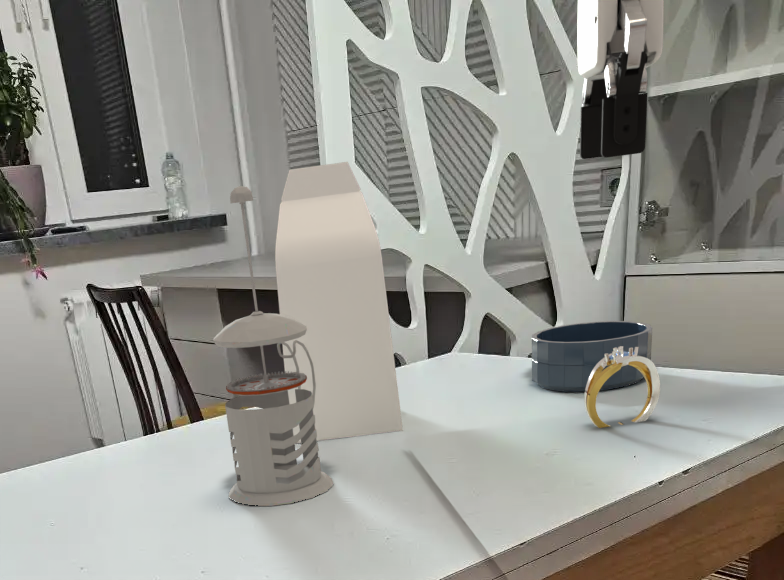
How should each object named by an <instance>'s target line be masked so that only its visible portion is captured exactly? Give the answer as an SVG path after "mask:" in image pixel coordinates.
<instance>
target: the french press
mask: <svg viewBox="0 0 784 580" xmlns="http://www.w3.org/2000/svg"><path fill="white" fill-rule="evenodd" d="M252 201H254V197H253V191H251V189H250V188H249V187H247V186H244V185H243V186H242V185H238V186H236V187H234V189H233V190H232V191H231V192H230V196H229V202H230V204H239V205H240V209H241V216H242V223H243V230H244V238H245V245H246V252H247V260H248V267H249V274H250V282H251V289H252V298H253V304H254V310H255V311H252V313H251V314H250V315H247V316H244V317H241V318H237V319H235V320H233V321H231V322H230V323H228V324H227V325H225V326H224V327H223V328H222V329H221V330H220V331H219V332H218V333H217V334H215V336H214V337H213V339H212V341H213V343H214V344H215V345H216V347H219V348H225V349H243V348H255V347H260V354H261V363H262V369H263V373H259V374H258V373H257V374H253V375H249V376H244V377H241V378H240V377H238V379H235V380H233V381H230V382H228V383H227V385H226V387H225V390H226V392H228V393H229V394H231V395H232V394H233V395H236V396H237V397H236V396H235V397H233V398H231V399H229V400H228V401H226V402H225V405H224V407H225V414H226V422H227V428H228V432H229V438H230V440H229V441H230V446H231V448H232V449H231V450H232V457H233V458H232V459H233V460H232V461H233V462H234V463H233V464H234V471H235V475H236V483H234V484H233V485H232V487H231V489H230V490H229V491H230V492H229V491H228V498H229V497H230V498H231V499H233V500H235V501H236V502H239V503H242V504H241V505H244V504H248V505H247V506H249V505H255V506H254V507H272V506H280V505H289V504H295V503H298V501H299V502H302V500H303V501H306V500H309V499H313V498H316V497H318V496H320V495H322V494H324V493H326V492H328V491H329V490H330V489H331V488H332V487H333V486H334V481H333V478H332V477H331V476H330V475H328V474H327V473H326V472H324V471H323V470H322V468H321V459H320V457H321V456H319V451H320V449H319V442H318V441H316V438H317V431H316V429H315V415H313V408H314V403H315V390H316V382H315V374H314V366H313V363H312V360H311V357H310V355H309V352H308V350H307V348H306V347H305V345H304V344H303V343H301V342H299V341H297V340H295V341H294V342H293V352H292V350H291V348H290V347H289V345H288V344H287V343H285V342H286V341H289V340H293V339H296V338H299V337H301V336H303V335H305V333H306V330H307V327H306V326H305V325H303V324H301V323H300V322H298V321H296V320H294V319H293V318H291V317H287V316H283V315H280V313H274V312H273V313H271V312H268V313H265V312H263V311H261V310H259V308H258V300H257V294H256V286H255V280H254V272H253V271H254V270H253V265H252V257H251V249H250V243H249V235H248V228H247V221H246V220H247V219H246V212H245V202H252ZM296 343H298V344H299V345H301V346H302V347H303V349H304V350H305V352H306V354H307V356H308V359H309V361H310V365H311V369H312V380H313V395H312V392H311V391H308V390H305V389H301V385H302V384H303V383H305V382H306V380H307V376H306V375H305V374H304V373H299V367H298V363H297V360H296V357H295V354H296V346H295V344H296ZM275 344H276V348H277V353H278V355H279V357H281V358H282V359H284V358H292V357H293V360H294V363H295V366H296V372H290V373H289V371H288V373H286V371H285V370H284V371H281V372H280V371H278V372H276V371H274V373H273V371H272V372H271V373H269V372H267V365H266V361H265V352H264V346H270V345H275ZM282 344H283V345H285V346H286V347H287V348H288V350H289V351H290V353H291V355H283V353H282V352H281V351H282V350H281V345H282ZM283 345H282V346H283ZM297 387H298V389H295V395H296V403H294V404H289V396H288V390H290V389H293V388H297ZM252 407H254V408H256V409H242V408H252ZM298 424H299V428H300V431H299V433H298V434H296V435H294V436H293V428H294V427H296V426H298ZM300 439H301V443H300V444H301V446H299V448H297V449H296V446H295V445H296V444H298V443H297V442H298V441H299V440H300ZM301 456H302V459H303V460H302V461H301V462H300V463H298V461H297V459H298V458H300V457H301ZM237 465H238V466H237ZM328 489H329V490H328ZM319 494H320V495H319ZM317 495H318V496H317ZM315 496H316V497H315ZM231 499H230V500H231ZM305 499H306V500H305ZM294 502H295V503H294ZM256 505H258V506H256Z"/></svg>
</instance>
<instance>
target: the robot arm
mask: <svg viewBox="0 0 784 580" xmlns="http://www.w3.org/2000/svg"><path fill="white" fill-rule="evenodd" d="M664 3H665V2H664V0H577V17H576V19H577V23H576V26H577V27H576V28H577V29H576V33H577V34H576V35H577V37H576V39H577V40H576V41H577V43H576V44H577V46H576V52H577V53H576V54H577V56H576V57H577V70H578V71H577V72H578V74H579V76H580V77H582V78H583V87H582V94H581V106H580V123H579V124H580V125H579V126H580V127H579V128H580V129H579V130H580V131H579V132H580V133H579V135H580V136H579V157H580V158H581V160H588V159H596V158H606V159H607V158H614V157H621V156H631V155H637V154H642V153H643V152H644V151H645V149H646V138H647V136H646V135H647V114H648V112H647V111H648V94H649V93H648V92H647V90H648V83H649V82H648V79H649V77H648V72H647V68H649V67H651V66H653V65H654V64H656V63H657V62H658V61H659V59H660V58H661V56H662V53H663V49H664V9H665V8H664V6H665V5H664Z"/></svg>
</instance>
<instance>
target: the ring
mask: <svg viewBox="0 0 784 580" xmlns="http://www.w3.org/2000/svg"><path fill="white" fill-rule="evenodd" d="M637 353H638V347H635V349H634V352H633V348H629V352H623V346H620V347H618V348H617V347H615V348H613V352H612V353H611V354H609V355H608V353H607V354H604V355H605V357H604V358H603V359H602V360H600V361H599V362H598V363H597V364H596V366H595V367H594V369H593V370H592V372H591V374H590V376H589V379H588V382H587V385H586V389H585V392H584V395H583V396H584V397H583V403H584V409H585V413H586V415H587V417H588V418H589V420H590V421H591V422H592V424H593V425H594V426H596V427H597V428H598V429H602V428H608V427H609V428H610V427H611V425H610V424H608V423H605V422H604V421H603V420H602V419H601V418H600V416H599V414H598V411H597V397H598V395H599V392H600V391H601V390H600V388H601V387H602V385H603V384H604V383H605V381H606V380H607V379H608V378H609V377H610V376H612V375H613V374H614V373H615V372H617V371H618V370H620V369H621V367H622V366H625V365H631V366H633V367H635V368H636V369H638V370H639V371H640V372H641V373H642V375H643V376H644V378H643V379H645V382H646V386H647V394H646V401H645V403H644V406H643V407H642V409H641V410H640V412H639V413H638V414H637V415H636V417H634V418H633V419H631V420H630V422H632V423H639V422H641V423H642V422H646V421H647V420H648V419H649V418H650V417H651V415H652V414H653V412H654V410H655V409H656V407H657V405H658V402H659V398H660V393H661V379H660V375H659V372H658V369H657V367H656V365H655V363H654V362H653V361H652V359H651V360H650V359H648V358H645V357H642V356H639V355H637ZM613 363H614V364H613ZM611 364H612V365H611ZM606 365H607V366H609V365H610V366H609V367H607V368H606V369H604V368H605V366H606ZM603 369H604V370H603ZM602 370H603V371H602ZM617 424H619V425H621V426H622V425H624V423H623V422H622V421H619V422H617Z"/></svg>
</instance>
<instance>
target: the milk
mask: <svg viewBox="0 0 784 580" xmlns="http://www.w3.org/2000/svg"><path fill="white" fill-rule="evenodd" d="M280 201H281V202H280V203H279V209H278V210H279V211H278V219H277V220H278V221H277V228H276V229H277V230H276V237H275V252H274V255H275V256H274V257H275V258H274V259H275V261H274V263H275V274H276V275H275V276H276V287H277V297H278V311H279V314H280V315H283V316H287V317H291V318H293V319H294V320H296V321H298V322H300V323H301V324H303V325H305V326H306V327H307V330H306V333H305V335H303V336H301V337H299V338H296V339H293V340H289V341H286V342H285V343H287V344H288V345H289V347H290V348H291V350H292V352H293V342H294V341H295V340H297V341H299V342H301V343H303V344H304V345H305V347H306V348H307V350H308V352H309V355H310V357H311V360H312V363H313V366H314V374H315V382H316V390H315V403H314V408H313V415H315V429H316V431H317V438H316V441H317V442H320V441H327V440H334V439H335V440H336V439H343V438H352V437H360V436H369V435H377V434H384V433H392V432H402V431H404V427H403V421H402V420H403V419H402V412H401V405H400V395H399V385H398V379H397V370H396V363H395V362H396V361H395V355H394V347H393V346H394V345H393V338H392V330H391V329H392V328H391V322H390V312H389V306H388V296H387V289H386V281H385V272H384V271H385V270H384V265H383V256H382V248H381V244H380V239H379V235H378V232H377V229H376V226H375V224H374V220H373V218H372V215H371V213H370V210H369V208H368V205H367V201H366V199H365V197H364V194H363V192H362V191H361V187H360V185H359V183H358V181H357V178H356V176H355V174H354V172H353V170H352V168H351V166H350V163H349V161H342V162H335V163H327V164H321V165H320V164H319V165H313V166H306V167H298V168H292V169H289V170H288V173H287V176H286V179H285V184H284V187H283V191H282V194H281V199H280ZM281 345H282V355H291V353H290V351H289V350H288V348H287V347H286V346H285V345H283V344H281ZM295 346H296V354H295V357H296V360H297V363H298V367H299V373H304V374H305V375H306V376H307V380H306V382H305V383H303V384H302V385H301V389H305V390H308V391H311V392H312V395H313V380H312V369H311V365H310V361H309V359H308V356H307V354H306V352H305V350H304V349H303V347H302V346H301V345H299V344H298V343H296V344H295ZM283 366H284V372H285V371H286V373H288V371H289V373H290V372H296V366H295V363H294V360H293V357H292V358H283ZM295 389H298V387H297V388H293V389H290V390H288V396H289V404H294V403H296V395H295ZM299 431H300V428H299V424H298V426H296V427H294V428H293V436H294V435H296V434H298V433H299ZM296 444H301V439H300V440H299V441H298V442H297V443H296Z"/></svg>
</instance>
